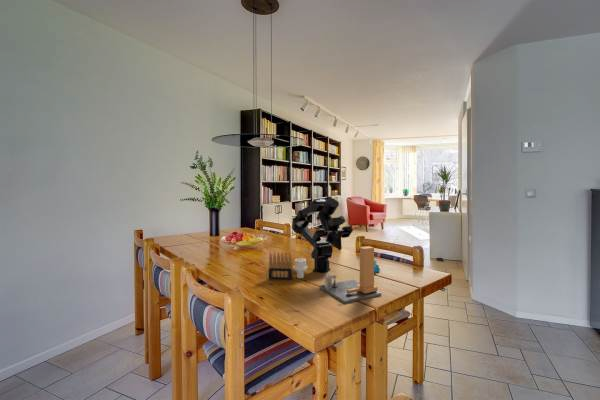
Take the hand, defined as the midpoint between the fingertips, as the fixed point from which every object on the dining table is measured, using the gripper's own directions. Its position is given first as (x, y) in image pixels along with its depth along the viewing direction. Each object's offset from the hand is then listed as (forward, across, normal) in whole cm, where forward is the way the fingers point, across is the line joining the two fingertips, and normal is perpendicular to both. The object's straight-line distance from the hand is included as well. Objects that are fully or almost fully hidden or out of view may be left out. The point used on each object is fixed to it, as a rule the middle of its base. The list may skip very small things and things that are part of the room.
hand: (340, 249), depth 127 cm
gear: (+7, +20, +13) cm, 25 cm away
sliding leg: (+21, -3, -5) cm, 22 cm away
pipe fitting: (+1, -15, +18) cm, 23 cm away
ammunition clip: (0, -24, +18) cm, 30 cm away
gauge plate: (+19, -5, 0) cm, 20 cm away
